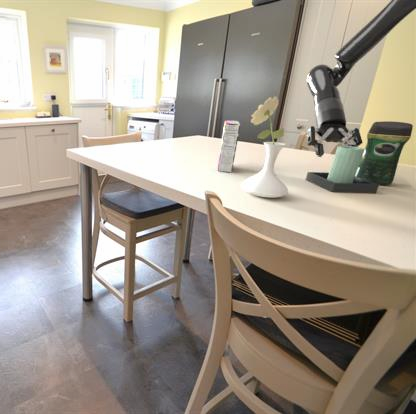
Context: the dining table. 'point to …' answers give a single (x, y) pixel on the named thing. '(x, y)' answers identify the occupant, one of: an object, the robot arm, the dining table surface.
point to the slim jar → (345, 164)
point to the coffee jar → (383, 151)
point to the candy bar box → (228, 146)
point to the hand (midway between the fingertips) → (336, 156)
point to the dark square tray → (342, 184)
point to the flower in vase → (267, 157)
